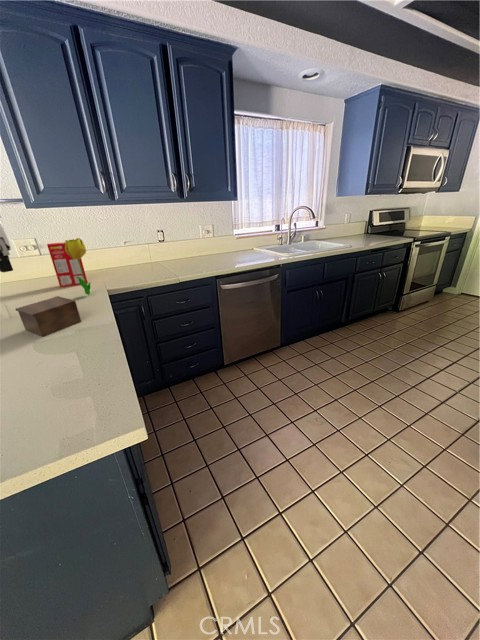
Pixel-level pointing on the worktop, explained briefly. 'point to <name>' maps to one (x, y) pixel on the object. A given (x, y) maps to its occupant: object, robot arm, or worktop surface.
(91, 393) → the worktop surface
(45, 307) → the lid
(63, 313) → the chest
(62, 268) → the food packaging
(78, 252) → the flower
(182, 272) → the worktop surface
